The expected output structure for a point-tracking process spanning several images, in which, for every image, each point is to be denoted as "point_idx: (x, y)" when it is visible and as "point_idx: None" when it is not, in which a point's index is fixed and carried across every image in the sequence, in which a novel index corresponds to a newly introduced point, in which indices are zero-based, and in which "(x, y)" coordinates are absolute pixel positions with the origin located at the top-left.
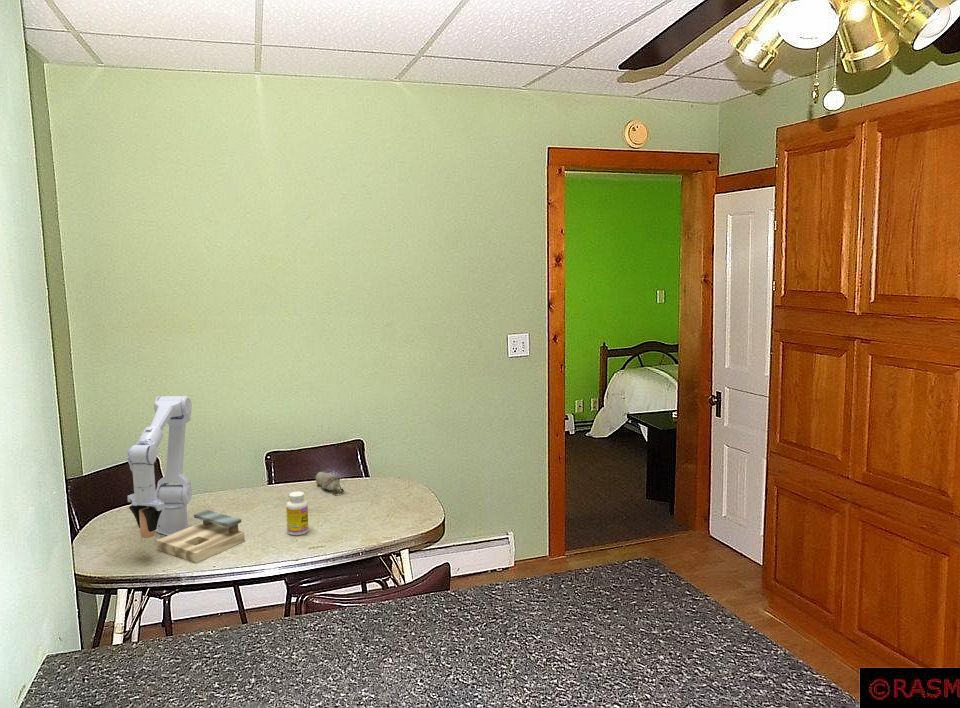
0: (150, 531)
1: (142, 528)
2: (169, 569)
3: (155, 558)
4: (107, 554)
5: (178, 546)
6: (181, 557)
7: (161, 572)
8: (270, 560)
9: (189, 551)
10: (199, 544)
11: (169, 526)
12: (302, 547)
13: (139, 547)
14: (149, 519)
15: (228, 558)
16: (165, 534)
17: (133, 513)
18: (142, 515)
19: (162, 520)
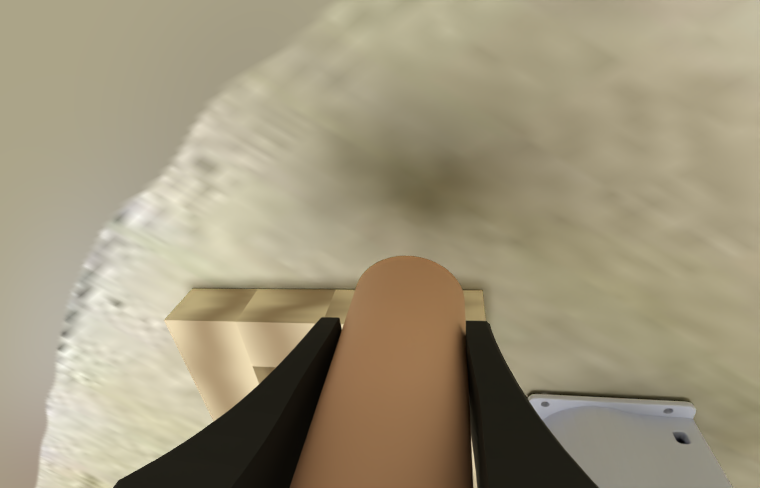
0: (319, 320)
1: (378, 313)
2: (202, 188)
3: (386, 225)
4: (744, 89)
5: (302, 329)
6: (289, 290)
7: (192, 144)
8: (63, 401)
9: (208, 319)
10: (253, 379)
11: (582, 445)
12: (107, 475)
13: (605, 262)
14: (224, 417)
15: (157, 362)
16: (594, 399)
17: (554, 456)
18: (332, 451)
19: (662, 473)
